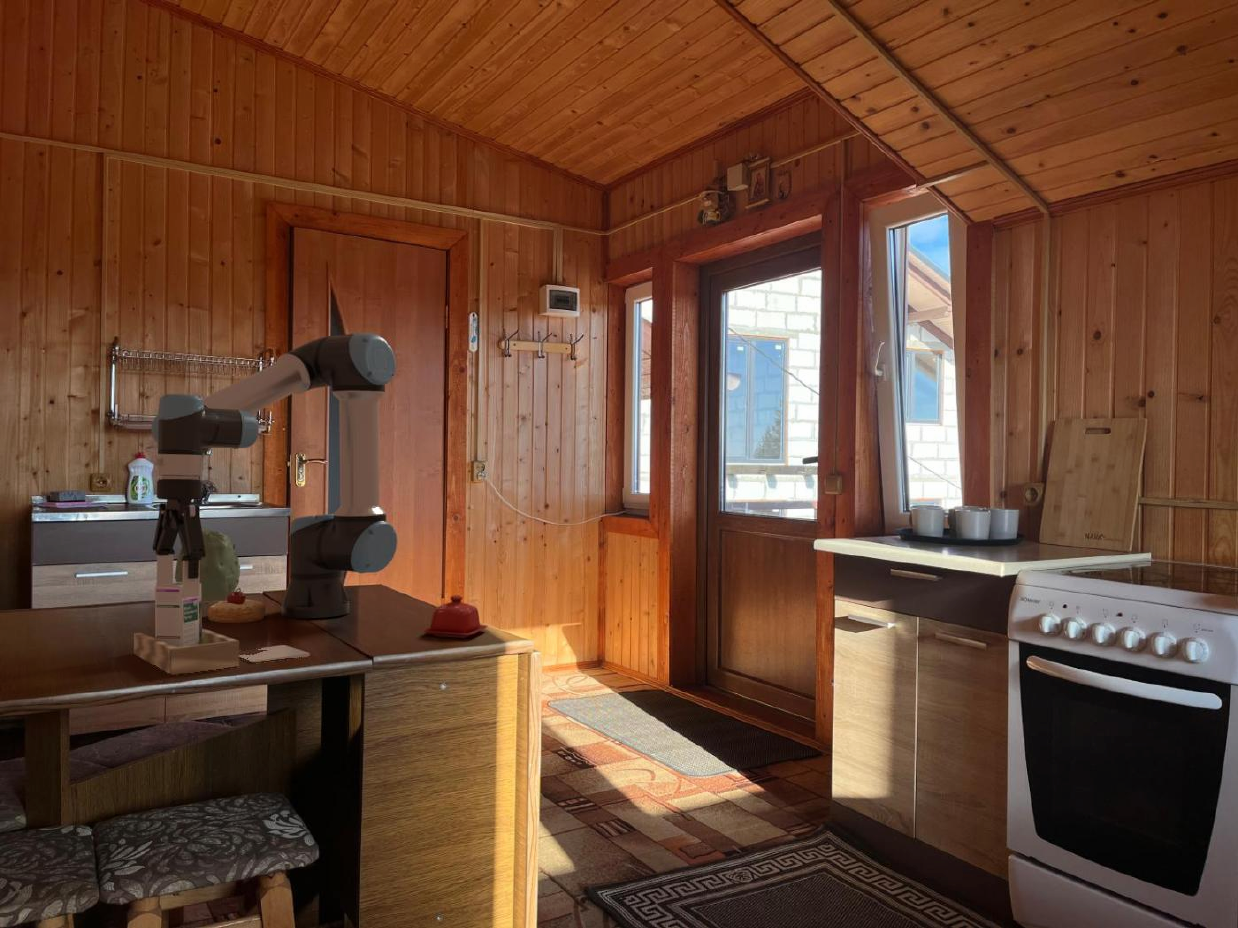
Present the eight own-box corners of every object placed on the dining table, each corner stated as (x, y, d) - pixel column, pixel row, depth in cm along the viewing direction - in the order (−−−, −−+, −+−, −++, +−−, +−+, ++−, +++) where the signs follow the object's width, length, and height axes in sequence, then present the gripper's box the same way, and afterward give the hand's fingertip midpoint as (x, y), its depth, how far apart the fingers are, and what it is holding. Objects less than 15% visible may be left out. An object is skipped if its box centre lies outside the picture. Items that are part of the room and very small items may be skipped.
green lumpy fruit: (184, 615, 226) (184, 532, 226) (165, 605, 241) (165, 527, 241) (251, 609, 236) (251, 529, 236) (228, 600, 251) (229, 525, 251)
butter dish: (490, 630, 209) (490, 592, 209) (471, 640, 198) (471, 599, 198) (441, 628, 212) (442, 590, 212) (420, 637, 201) (420, 597, 201)
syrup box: (182, 665, 170) (183, 585, 170) (153, 664, 172) (154, 584, 172) (202, 659, 176) (203, 581, 176) (174, 657, 177) (175, 580, 177)
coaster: (228, 656, 179) (228, 652, 179) (284, 648, 186) (284, 644, 186) (252, 665, 171) (252, 661, 171) (309, 657, 178) (309, 653, 178)
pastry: (250, 620, 220) (251, 582, 220) (274, 626, 212) (274, 587, 212) (198, 626, 212) (199, 586, 212) (221, 633, 203) (221, 592, 203)
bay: (133, 660, 175) (134, 633, 175) (197, 652, 183) (197, 626, 183) (172, 678, 160) (172, 649, 160) (239, 668, 168) (239, 640, 168)
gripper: (135, 477, 180) (133, 588, 180) (182, 478, 162) (180, 601, 162) (176, 477, 185) (174, 585, 185) (226, 478, 167) (224, 598, 167)
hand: (177, 593), depth 174 cm, fingers open, 13 cm apart
